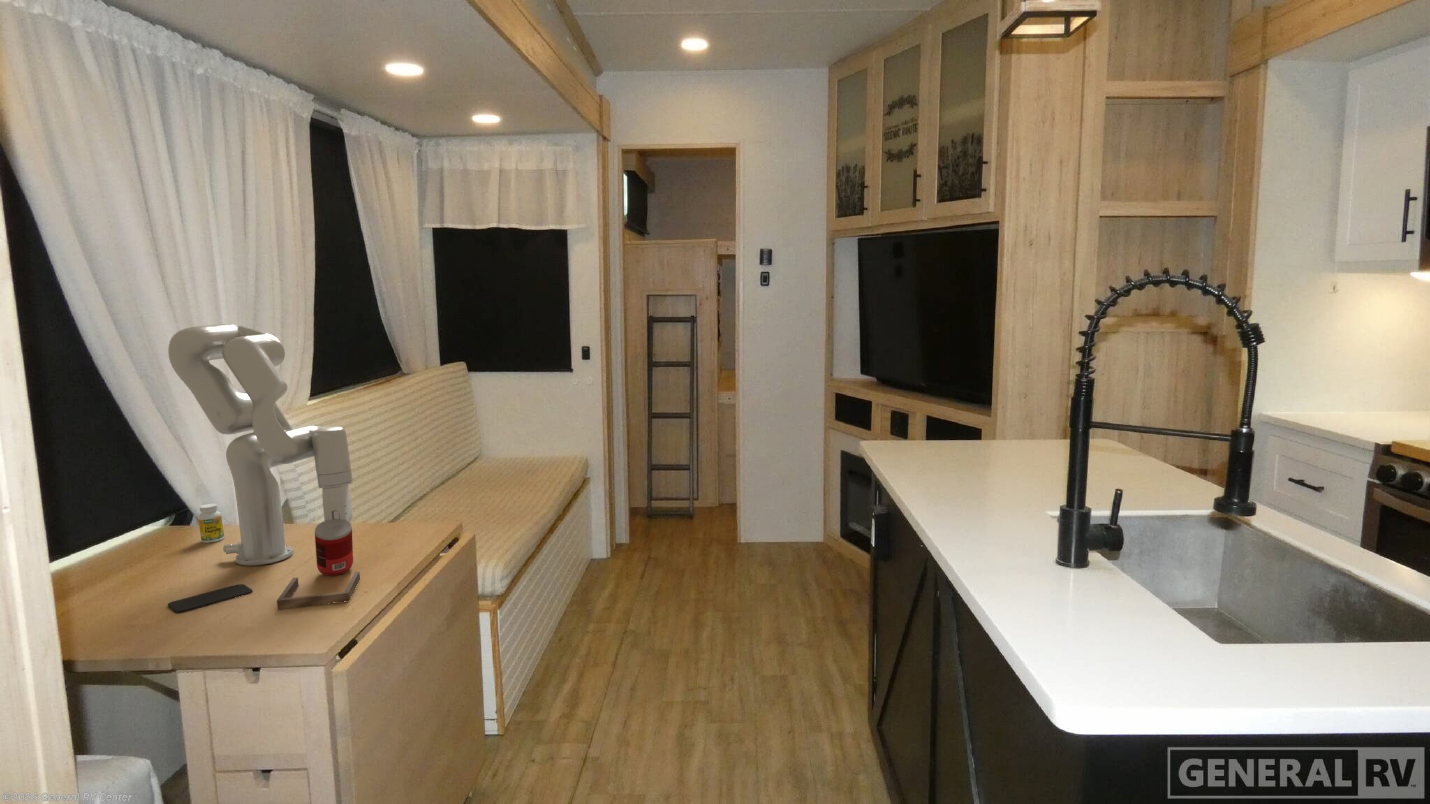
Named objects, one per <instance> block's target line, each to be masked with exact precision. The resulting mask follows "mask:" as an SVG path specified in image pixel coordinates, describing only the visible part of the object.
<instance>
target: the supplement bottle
mask: <svg viewBox="0 0 1430 804" xmlns="http://www.w3.org/2000/svg"><path fill="white" fill-rule="evenodd" d="M218 509H219V508H218V504H217V503H207V504H202V505H201V506H199V512H200V514H198V517H197V520H198V527H199V534H200V535H199V536H200V539H201V542H202V543H204V544H209V543H210V542H211V543H216V542H219V541H222V540H223V539H225V532H224V524H223V516H222V515H223V514H222V513H221V512H220V511H218Z"/></svg>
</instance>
